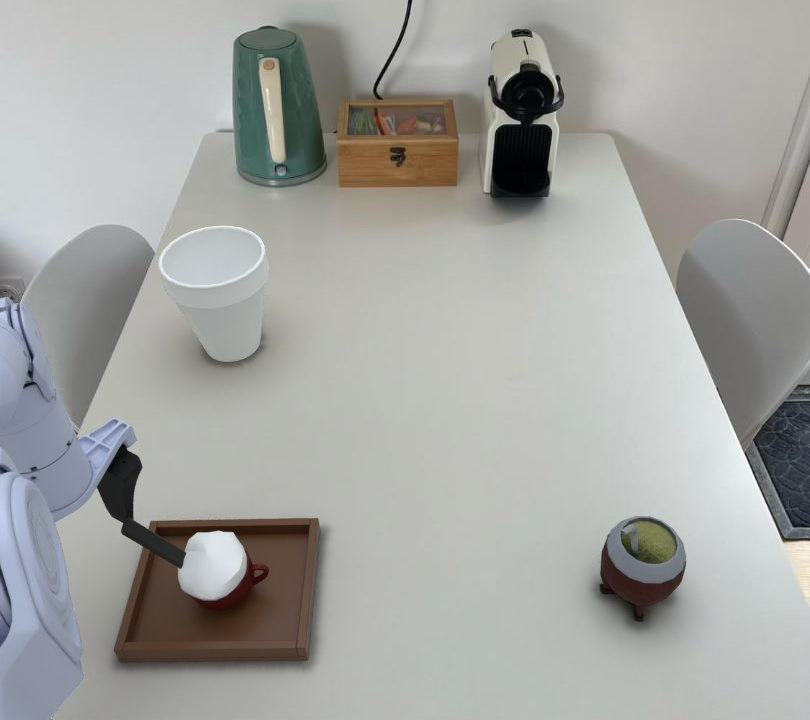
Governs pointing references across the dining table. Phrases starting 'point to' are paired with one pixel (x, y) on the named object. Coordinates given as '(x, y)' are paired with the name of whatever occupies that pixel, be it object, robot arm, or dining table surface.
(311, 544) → the tray
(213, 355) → the cup
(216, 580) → the cocoa
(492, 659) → the dining table surface
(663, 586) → the mate gourd
